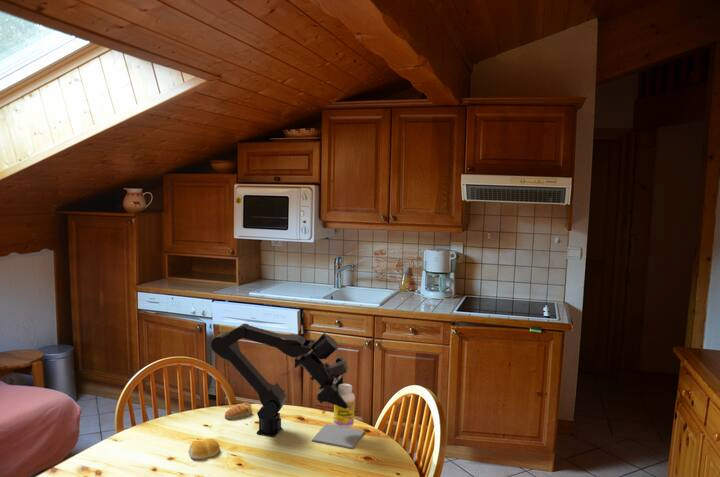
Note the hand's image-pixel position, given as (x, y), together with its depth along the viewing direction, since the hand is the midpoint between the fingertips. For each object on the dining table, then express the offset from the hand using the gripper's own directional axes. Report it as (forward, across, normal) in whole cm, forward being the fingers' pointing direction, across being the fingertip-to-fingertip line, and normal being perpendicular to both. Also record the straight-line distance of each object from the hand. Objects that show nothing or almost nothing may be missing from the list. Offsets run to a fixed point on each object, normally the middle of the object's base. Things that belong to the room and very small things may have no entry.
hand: (348, 403), depth 169 cm
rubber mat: (+6, 0, +10) cm, 12 cm away
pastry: (-20, +10, +38) cm, 44 cm away
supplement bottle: (+4, 0, +6) cm, 8 cm away
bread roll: (-21, -17, +39) cm, 47 cm away
